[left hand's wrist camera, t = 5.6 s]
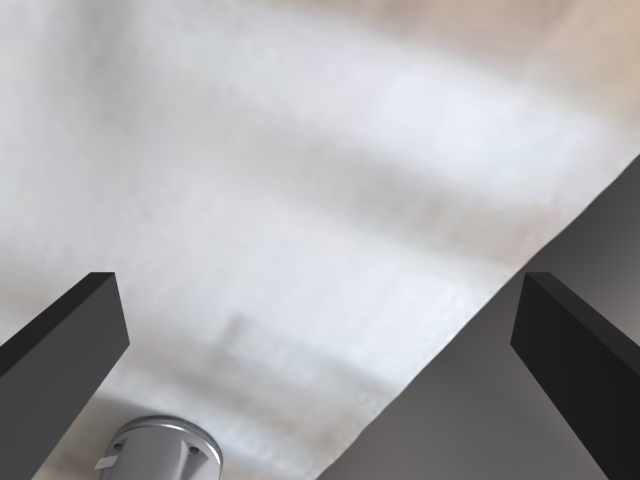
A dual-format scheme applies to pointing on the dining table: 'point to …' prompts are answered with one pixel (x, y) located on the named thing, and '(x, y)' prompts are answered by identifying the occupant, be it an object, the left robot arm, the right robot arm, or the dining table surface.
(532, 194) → the dining table surface
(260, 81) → the dining table surface
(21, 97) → the dining table surface
